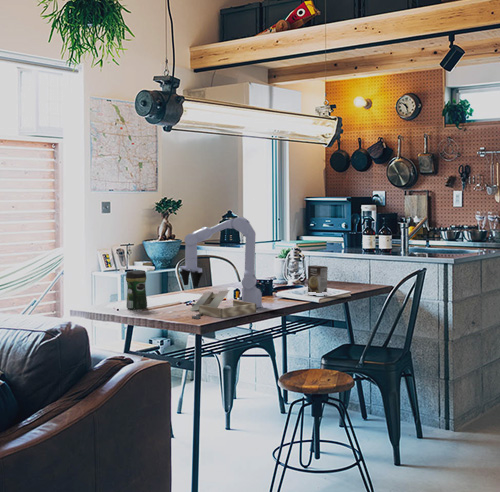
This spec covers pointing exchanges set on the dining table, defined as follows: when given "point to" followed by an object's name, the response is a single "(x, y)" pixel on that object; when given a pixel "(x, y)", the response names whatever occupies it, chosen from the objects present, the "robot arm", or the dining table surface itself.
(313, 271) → the coffee box
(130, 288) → the coffee jar
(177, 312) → the dining table surface
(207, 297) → the beige slanted rack
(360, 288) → the dining table surface
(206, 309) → the bay
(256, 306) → the robot arm
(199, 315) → the hook
